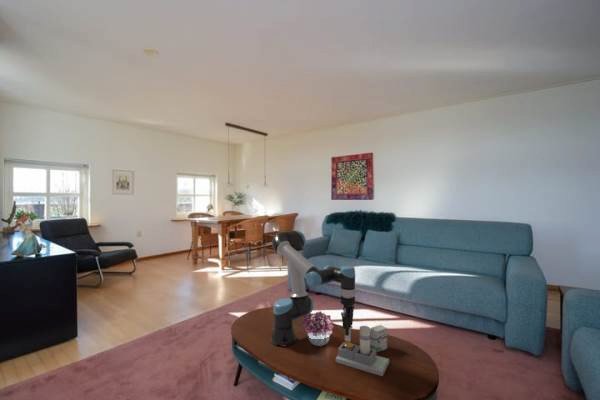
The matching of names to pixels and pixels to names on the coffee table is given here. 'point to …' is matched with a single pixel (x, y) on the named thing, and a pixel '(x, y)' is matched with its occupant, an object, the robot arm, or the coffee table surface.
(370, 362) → the housing
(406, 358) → the coffee table surface
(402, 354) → the coffee table surface
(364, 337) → the cartridge
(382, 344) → the ink box
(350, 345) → the orange piece
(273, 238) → the robot arm
